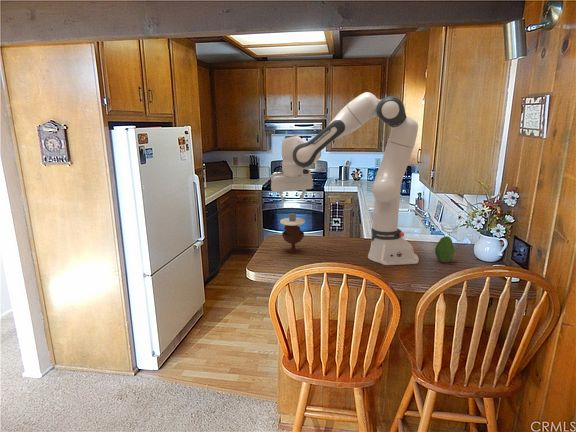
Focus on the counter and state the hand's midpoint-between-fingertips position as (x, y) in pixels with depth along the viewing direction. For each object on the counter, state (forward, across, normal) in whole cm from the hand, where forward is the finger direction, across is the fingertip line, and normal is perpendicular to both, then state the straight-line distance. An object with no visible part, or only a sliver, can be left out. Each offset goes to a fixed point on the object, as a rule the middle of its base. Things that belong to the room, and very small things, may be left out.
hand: (292, 199), depth 177 cm
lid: (+11, 0, 0) cm, 11 cm away
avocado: (+27, +58, -38) cm, 74 cm away
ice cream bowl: (+26, 0, 0) cm, 26 cm away
